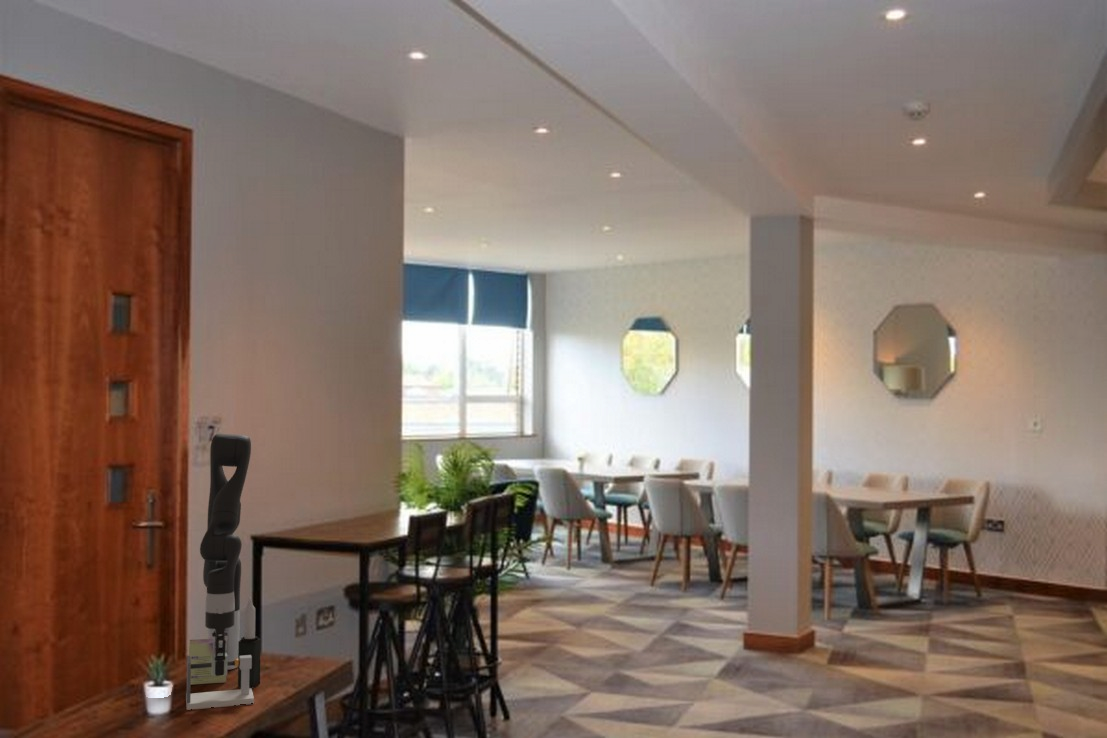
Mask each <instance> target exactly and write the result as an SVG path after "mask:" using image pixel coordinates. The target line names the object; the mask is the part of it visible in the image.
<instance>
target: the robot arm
mask: <svg viewBox="0 0 1107 738" xmlns="http://www.w3.org/2000/svg"><path fill="white" fill-rule="evenodd" d="M251 442H252V441H251V438H250V436H247V435H242V434H229V433H217V434H214V435H213V438H212V439H211V443H210V455H209V456H210V457H209V460H210V461H209V462H210V464H209V465H210V473H209V474H210V475H209V476H210V481H209V482H210V487H209V497H208V508H207V529H206V531H205V534H204V535H203V537H202V540H201V542H200V546H199V552H200V556H201V558H202V560H204V563H203V571H202V573H203V574H202V576H203V578H202V579H203V584H204V586H205V587H206V596H205V609H204V610H205V614H204V615H205V617H204V618H205V620H204V625H205V628H207V639H212V641H213V652H214V654H215V659H214V660H215V675H216V676H220V675H224V661H225V658H226V657H225V652H226V651H227V656H228V658H227V661H235V659H238V642H239V641H240V631H241V630H240V626H241V625H240V624H241V622H240V621H241V619H240V618H241V617H240V613H241V612H240V611H241V609H240V607H241V606H240V605H241V602H240V600H241V599H240V598H241V580H242V579H241V578H242V561H241V559H240V554H241V552H242V548H243V547H242V540H241V538H240V536H238V535H237V534H234V533H235V532H236V530H237V529H238V528H239V526H240V521H241V510H242V503H241V497H242V492H243V489H244V487H245V486H244V485H245V482H246V478H247V474H248V470H249V465H250V460H251V453H252V443H251ZM223 467H232V468H233V467H235V468H236V469H235V471H234V473H233V475H232V476H231V478H230V479H229V480H227V477H226V475H225V471H224V468H223ZM218 653H223V656H217V654H218ZM236 668H237V669H238V667H235V665H233V666H227V671H229V670H233V669H236Z"/></svg>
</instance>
